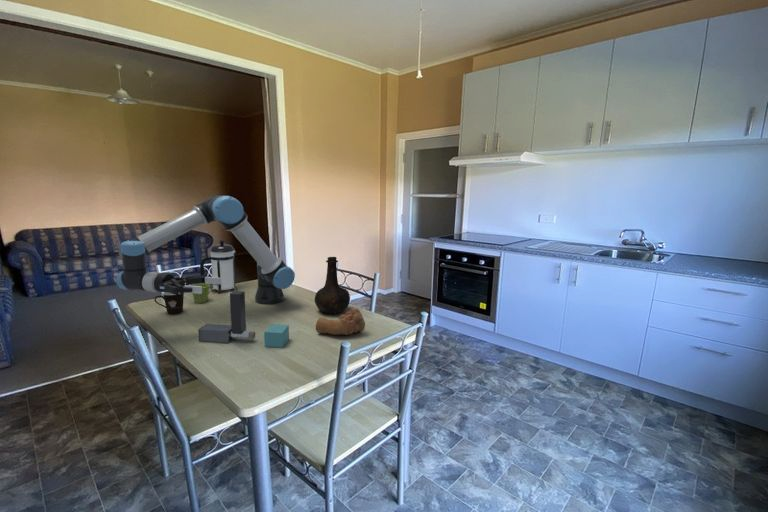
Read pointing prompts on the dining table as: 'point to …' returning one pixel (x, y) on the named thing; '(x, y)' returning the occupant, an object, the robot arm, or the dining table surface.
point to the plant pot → (201, 297)
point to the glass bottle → (332, 292)
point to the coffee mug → (172, 302)
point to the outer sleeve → (215, 333)
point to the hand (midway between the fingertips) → (211, 285)
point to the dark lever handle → (239, 316)
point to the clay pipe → (342, 323)
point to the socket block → (276, 335)
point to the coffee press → (221, 266)
